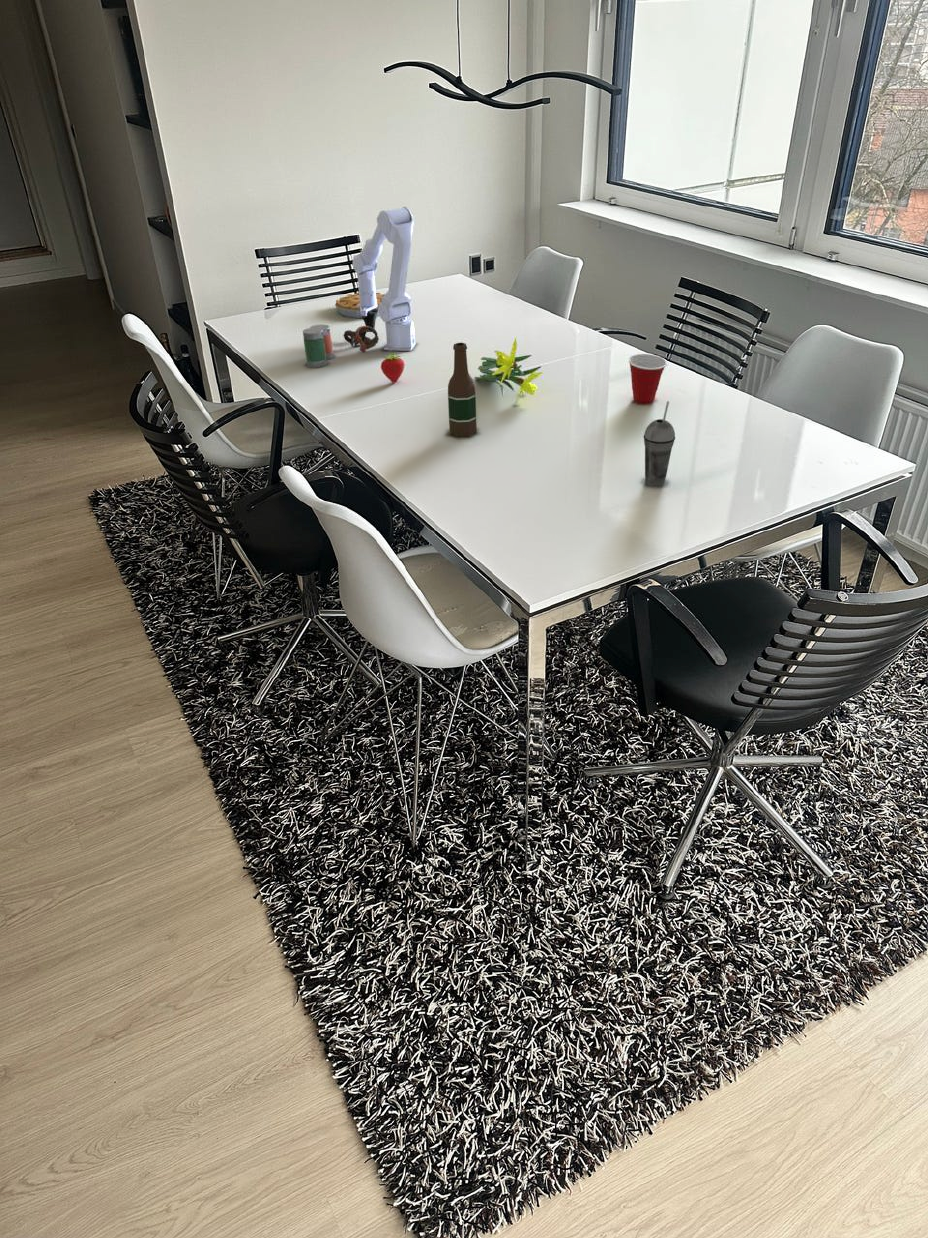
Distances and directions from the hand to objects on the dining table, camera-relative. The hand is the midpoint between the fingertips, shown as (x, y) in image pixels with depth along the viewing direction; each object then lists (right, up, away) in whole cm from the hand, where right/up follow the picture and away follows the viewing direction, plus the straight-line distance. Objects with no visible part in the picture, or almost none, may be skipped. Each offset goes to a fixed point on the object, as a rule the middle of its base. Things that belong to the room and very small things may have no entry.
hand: (370, 331), depth 312 cm
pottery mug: (-2, -9, -9) cm, 12 cm away
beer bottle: (+32, -50, -71) cm, 93 cm away
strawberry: (+11, -28, -37) cm, 48 cm away
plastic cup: (+84, -38, -56) cm, 108 cm away
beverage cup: (+78, -68, -99) cm, 144 cm away
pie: (-5, +17, +29) cm, 34 cm away
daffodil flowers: (+44, -34, -48) cm, 73 cm away
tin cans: (-15, -16, -18) cm, 28 cm away
